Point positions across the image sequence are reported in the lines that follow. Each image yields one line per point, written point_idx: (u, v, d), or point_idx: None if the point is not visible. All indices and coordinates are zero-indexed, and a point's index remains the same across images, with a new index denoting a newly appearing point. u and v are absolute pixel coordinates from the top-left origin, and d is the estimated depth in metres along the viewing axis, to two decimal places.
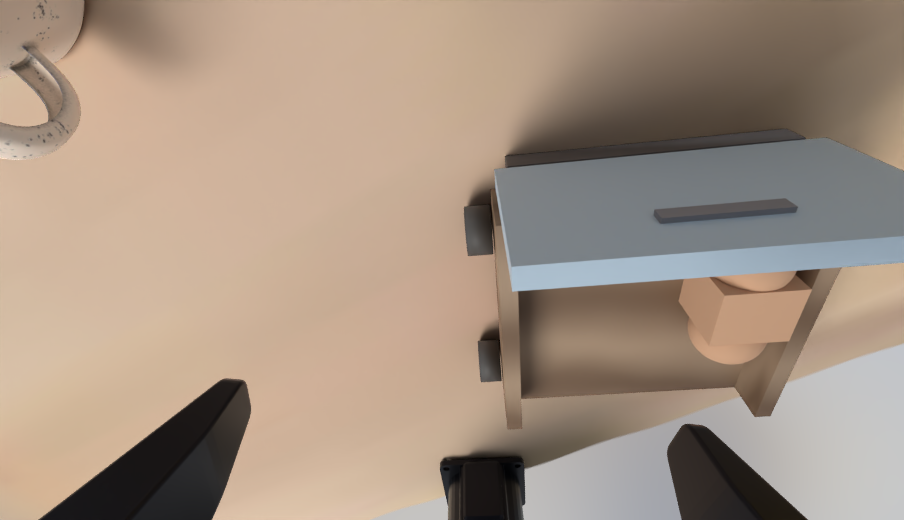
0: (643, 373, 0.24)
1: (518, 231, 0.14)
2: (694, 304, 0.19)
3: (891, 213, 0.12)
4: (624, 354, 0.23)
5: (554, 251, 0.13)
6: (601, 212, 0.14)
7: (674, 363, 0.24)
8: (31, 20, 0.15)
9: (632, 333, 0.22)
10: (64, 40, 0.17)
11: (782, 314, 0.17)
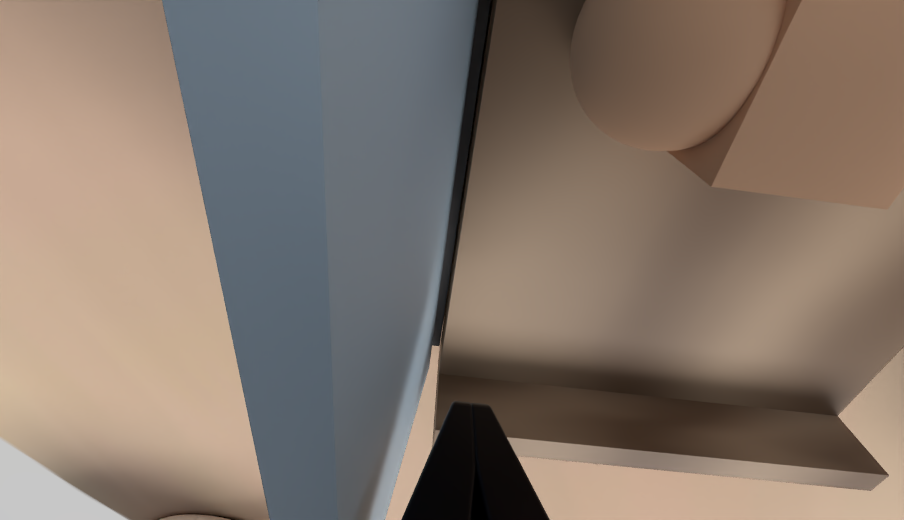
0: None
1: None
2: None
3: None
4: (858, 251, 0.11)
5: None
6: None
7: None
8: None
9: (803, 235, 0.10)
10: None
11: None
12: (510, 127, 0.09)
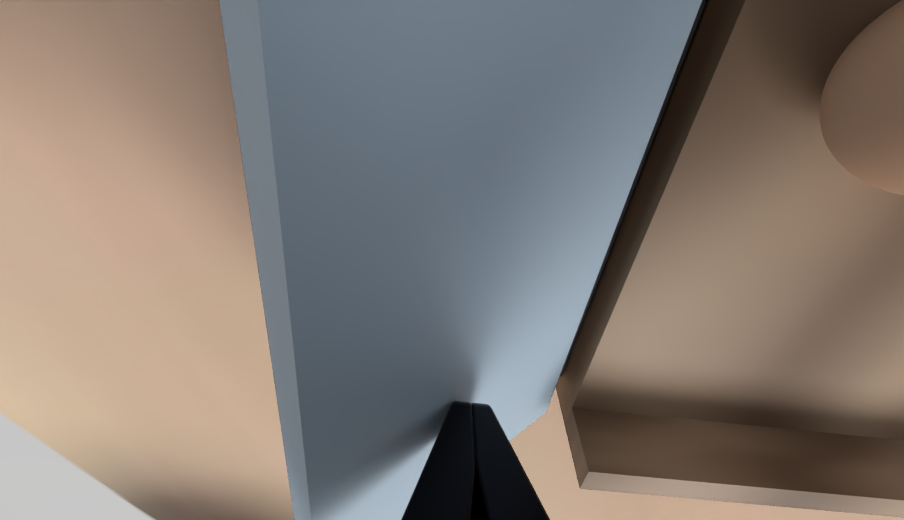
0: None
1: None
2: None
3: None
4: None
5: None
6: None
7: None
8: None
9: None
10: None
11: None
12: (712, 162, 0.09)
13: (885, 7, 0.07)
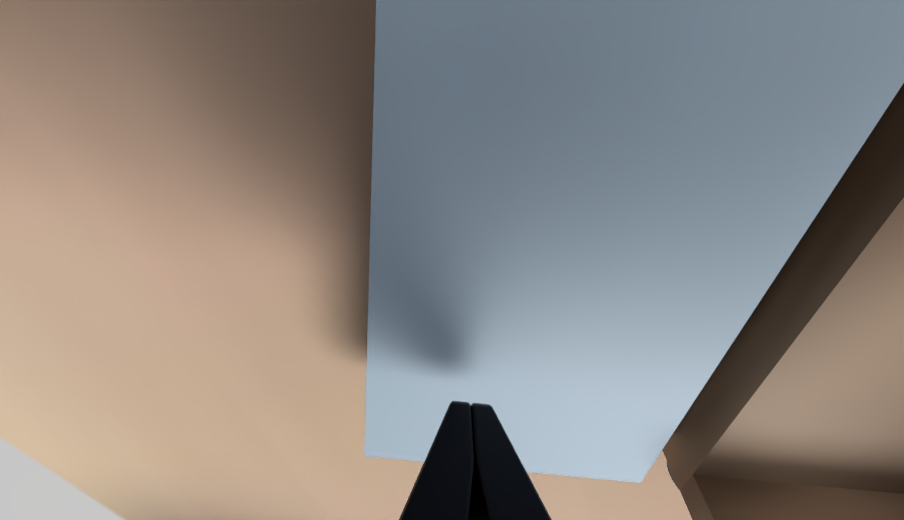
0: None
1: None
2: None
3: None
4: None
5: None
6: None
7: None
8: None
9: None
10: None
11: None
12: None
13: None
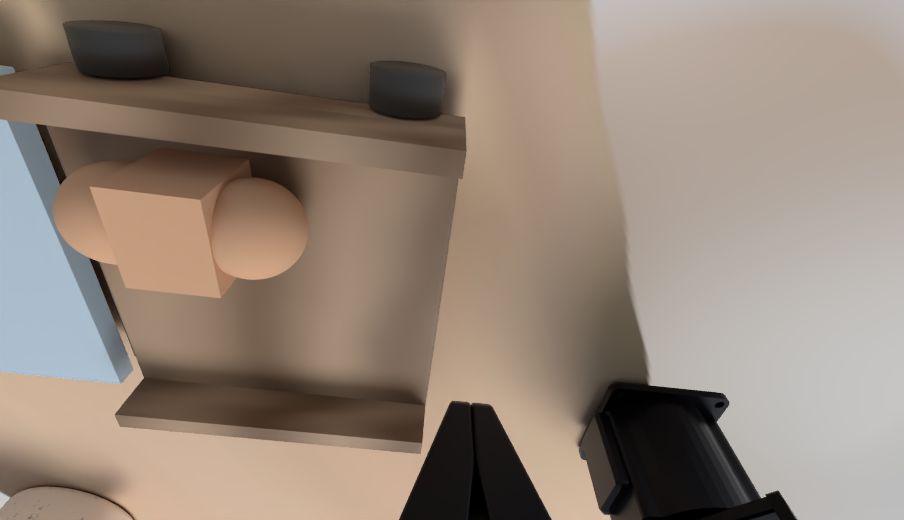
0: (400, 282, 0.16)
1: None
2: None
3: None
4: (359, 302, 0.17)
5: None
6: None
7: (385, 245, 0.16)
8: None
9: (319, 293, 0.17)
10: (104, 515, 0.30)
11: (145, 217, 0.11)
12: None
13: None
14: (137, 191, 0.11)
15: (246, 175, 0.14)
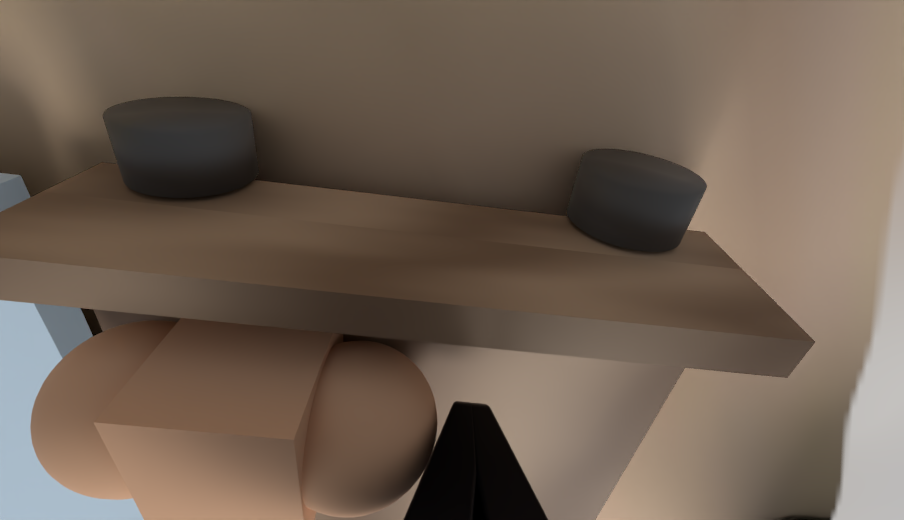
0: (574, 451, 0.11)
1: None
2: None
3: None
4: None
5: None
6: None
7: (565, 410, 0.11)
8: None
9: None
10: None
11: (192, 460, 0.06)
12: None
13: None
14: (180, 427, 0.06)
15: None
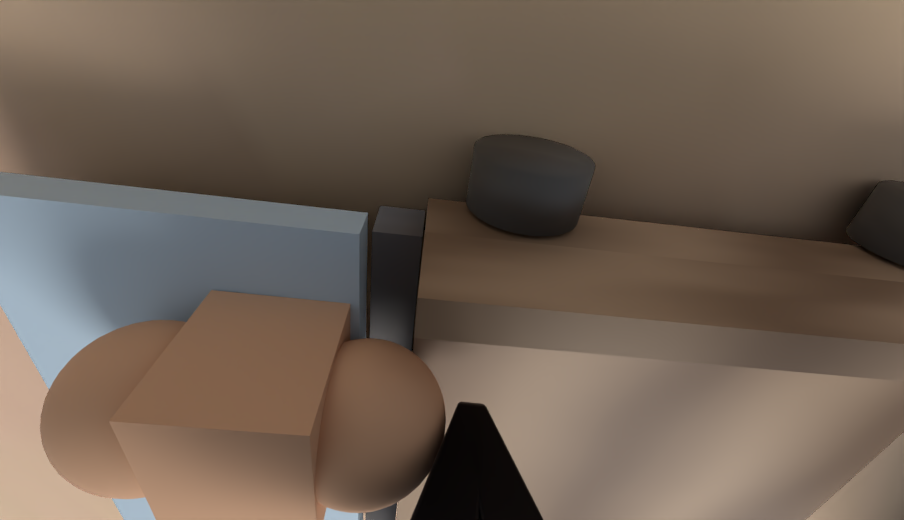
0: (809, 464, 0.12)
1: None
2: None
3: None
4: (735, 484, 0.13)
5: None
6: None
7: (820, 426, 0.11)
8: None
9: (688, 476, 0.12)
10: None
11: (207, 457, 0.07)
12: None
13: None
14: (196, 424, 0.06)
15: (347, 329, 0.09)
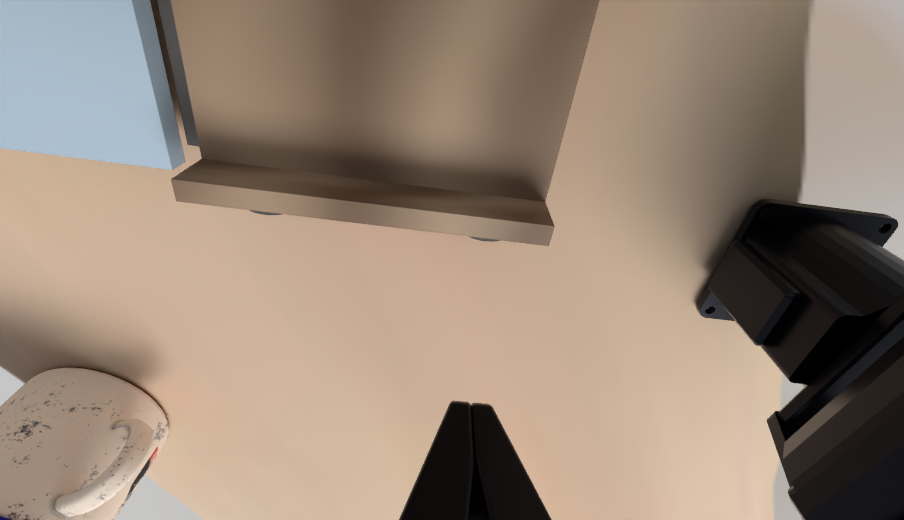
0: None
1: None
2: None
3: None
4: (489, 18, 0.13)
5: None
6: None
7: None
8: (100, 416, 0.24)
9: (440, 1, 0.13)
10: (135, 401, 0.26)
11: None
12: None
13: None
14: None
15: None
